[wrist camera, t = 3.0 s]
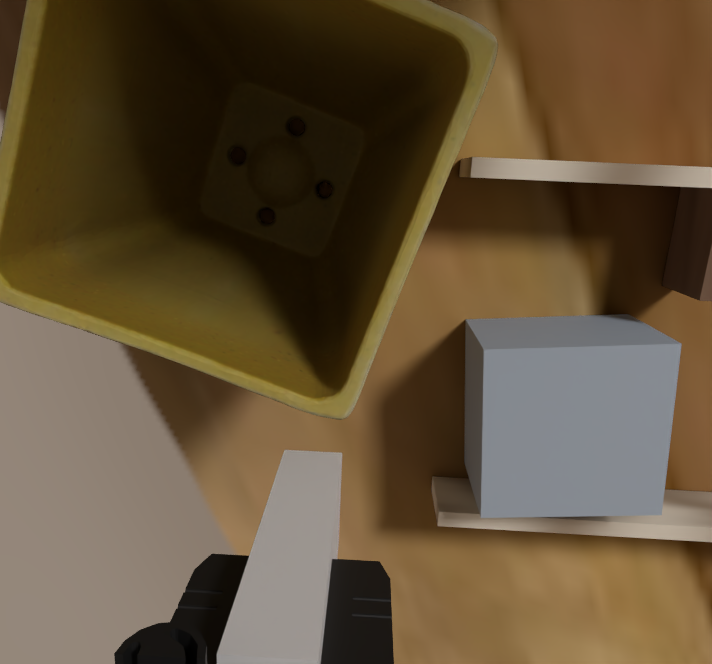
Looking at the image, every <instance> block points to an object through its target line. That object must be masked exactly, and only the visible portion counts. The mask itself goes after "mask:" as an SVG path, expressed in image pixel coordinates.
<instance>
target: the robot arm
mask: <svg viewBox="0 0 712 664" xmlns="http://www.w3.org/2000/svg"><path fill="white" fill-rule="evenodd" d="M341 470H342V453H334V452H316V451H297V450H284V453H283V456H282V459H281V462H280V465H279V468H278V471H277V474H276V477H275V480H274V483H273V486H272V489H271V492H270V495H269V498H268V501H267V504H266V507H265V510H264V513H263V516H262V519H261V522H260V525H259V528H258V531H257V534H256V537H255V540H254V543H253V546H252V549H251V552H250V555H249V556H242V555H225V554H211V555H210V556H209V557H208V558H207V559H206V560H204V561H203V562H202V563H201V564H200V565H199V566H198V567H197V568H196V569H195V570H194V572H193V574H192V576H191V578H190V581H189V583H188V585H187V587H186V591H185V593H183V596H182V598H181V600H180V602H179V604H178V609H176V611H175V613H174V615H173V617H172V619H171V621H170V622H168V623H158V624H155V625H152V626H150V627H147V628H144V629H141V630H139V631H138V632H136V633H135V634H134V635H132V636H131V637H129V638H128V639H126V640H125V641H124V642H123V644H122V645H121V646H120V647H119V649H118V650H117V651H116V652H115V664H394V658H393V634H392V611H391V587H390V578H389V576H388V575H387V573H386V571H385V570H384V568H383V566H382V565H381V563H380V562H379V561H361V560H343V559H337V555H338V544H339V519H340V495H341Z"/></svg>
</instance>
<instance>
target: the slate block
mask: <svg viewBox="0 0 712 664" xmlns="http://www.w3.org/2000/svg"><path fill="white" fill-rule="evenodd" d="M680 352H681V343H679V342H678V341H676V340H674V339H672V338H670V337H669V336H667V335H665V334H663V333H661V332H660V331H658V330H656V329H654V328H652V327H651V326H649V325H647V324H645V323H643V322H642V321H640V320H638V319H636V318H634V317H633V316H631V315H629V314H617V315H587V316H557V317H526V318H496V319H466V338H465V445H464V463H465V467H466V470H467V473H468V477H469V480H470V483H471V487H472V490H473V493H474V497H475V500H476V503H477V507H478V510H479V514H480V517H481V518H514V517H579V516H644V515H662V508H663V499H664V491H665V482H666V473H667V465H668V456H669V447H670V439H671V430H672V421H673V413H674V404H675V396H676V387H677V378H678V370H679V361H680Z"/></svg>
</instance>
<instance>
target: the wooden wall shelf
mask: <svg viewBox="0 0 712 664" xmlns="http://www.w3.org/2000/svg"><path fill="white" fill-rule="evenodd" d="M459 177H473V178H495V179H518V180H541V181H563V182H586V183H608V184H631V185H654V186H676V187H681V190H680V195H679V200H678V205H677V210H676V216H675V221H674V226H673V231H672V236H671V241H670V246H669V252H668V257H667V262H666V267H665V272H664V277H663V283H662V286H664V287H667V288H669V289H672V290H674V291H677V292H679V293H682V294H684V295H687V296H689V297H692V298H694V299H697V300H699V301H712V167H690V166H667V165H644V164H621V163H598V162H575V161H552V160H529V159H506V158H483V157H470V158H464V159H461V162H460V173H459ZM431 491H432V497H433V502H434V508H435V514H436V520H437V526H445V527H462V528H479V529H496V530H513V531H530V532H547V533H564V534H581V535H598V536H615V537H632V538H649V539H666V540H683V541H700V542H712V492H699V491H681V490H665V491H664V499H663V508H662V515H644V516H579V517H514V518H481V517H480V514H479V510H478V507H477V503H476V500H475V497H474V493H473V490H472V487H471V483H470V480H469V478H452V477H434V476H432V487H431Z"/></svg>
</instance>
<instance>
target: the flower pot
mask: <svg viewBox="0 0 712 664" xmlns="http://www.w3.org/2000/svg"><path fill="white" fill-rule="evenodd" d="M497 49H498V43H497V40H496V37H495V36H494V35H493V34H492V33H491V32H490V31H489V30H488V29H486V28H485V27H484V26H483V25H481V24H479V23H477V22H475V21H473V20H471V19H469V18H467V17H465V16H464V15H462V14H459V13H456V12H454V11H452V10H450V9H447V8H444V7H441V6H439V5H437V4H435V3H433V2H431V1H428V0H27V3H26V8H25V13H24V18H23V23H22V29H21V35H20V41H19V47H18V52H17V58H16V63H15V68H14V74H13V80H12V86H11V91H10V95H9V100H8V105H7V111H6V116H5V120H4V126H3V132H2V137H1V142H0V302H2V303H4V304H6V305H9V306H12V307H15V308H18V309H21V310H23V311H26V312H29V313H32V314H35V315H38V316H41V317H44V318H48V319H51V320H54V321H56V322H60V323H63V324H65V325H69V326H73V327H75V328H79V329H82V330H84V331H87V332H90V333H93V334H95V335H98V336H101V337H104V338H107V339H110V340H113V341H116V342H119V343H122V344H125V345H128V346H132V347H135V348H138V349H140V350H143V351H146V352H149V353H152V354H155V355H158V356H160V357H163V358H166V359H169V360H171V361H174V362H177V363H180V364H182V365H185V366H187V367H190V368H193V369H195V370H198V371H200V372H203V373H205V374H208V375H211V376H213V377H216V378H218V379H221V380H223V381H226V382H228V383H231V384H233V385H236V386H238V387H241V388H244V389H247V390H249V391H252V392H254V393H257V394H259V395H262V396H265V397H268V398H271V399H273V400H275V401H278V402H281V403H284V404H286V405H287V406H290V407H293V408H295V409H298V410H301V411H304V412H307V413H310V414H313V415H317V416H321V417H326V418H332V419H338V420H342V419H345V418H347V417H348V416H349V415H350V413H351V412H352V411H353V409H354V407H355V404H356V402H357V400H358V398H359V395H360V393H361V391H362V388H363V385H364V383H365V380H366V377H367V375H368V372H369V370H370V367H371V365H372V362H373V360H374V357H375V354H376V352H377V349H378V347H379V345H380V343H381V340H382V337H383V335H384V333H385V330H386V327H387V325H388V322H389V320H390V317H391V315H392V312H393V310H394V307H395V305H396V302H397V300H398V297H399V295H400V292H401V290H402V287H403V285H404V282H405V280H406V278H407V275H408V273H409V270H410V268H411V265H412V263H413V261H414V258H415V256H416V253H417V251H418V249H419V246H420V244H421V242H422V239H423V237H424V234H425V232H426V230H427V227H428V225H429V222H430V220H431V218H432V216H433V213H434V211H435V208H436V205H437V203H438V200H439V198H440V195H441V193H442V190H443V188H444V185H445V183H446V181H447V178H448V176H449V173H450V171H451V169H452V166H453V164H454V162H455V159H456V157H457V155H458V153H459V150H460V148H461V145H462V143H463V141H464V138H465V135H466V133H467V130H468V128H469V125H470V123H471V121H472V118H473V116H474V114H475V112H476V109H477V107H478V105H479V102H480V100H481V98H482V95H483V93H484V90H485V88H486V85H487V82H488V80H489V77H490V74H491V71H492V69H493V66H494V63H495V60H496V56H497ZM293 119H300V120H302V121H303V122H304V125H305V130H304V132H303V133H302V134H301V135H299V136H294V135H292V134H291V133H290V131H289V123H290V122H291V121H292V120H293ZM236 147H240V148H242V149H243V150H244V151H245V153H246V159H245V161H244V162H243V163H242V164H236V163H234V162H233V161H232V160H231V157H230V155H231V151H232V150H233V149H234V148H236ZM323 181H326V182H328V183H330V184H331V186H332V189H333V191H332V194H331V195H330V196H329V197H327V198H322V197H320V196H319V195H318V193H317V190H316V189H317V185H318V184H319V183H321V182H323ZM264 208H270V209H271V210H272V211H274V214H275V219H274V221H273V222H272V223H271V224H264V223H263V222H262V221H261V220H260V216H259V215H260V212H261V210H263V209H264Z"/></svg>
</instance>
